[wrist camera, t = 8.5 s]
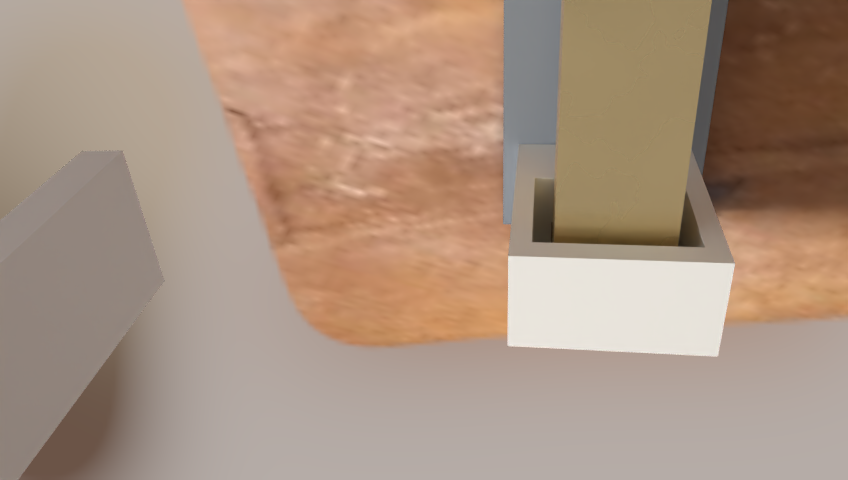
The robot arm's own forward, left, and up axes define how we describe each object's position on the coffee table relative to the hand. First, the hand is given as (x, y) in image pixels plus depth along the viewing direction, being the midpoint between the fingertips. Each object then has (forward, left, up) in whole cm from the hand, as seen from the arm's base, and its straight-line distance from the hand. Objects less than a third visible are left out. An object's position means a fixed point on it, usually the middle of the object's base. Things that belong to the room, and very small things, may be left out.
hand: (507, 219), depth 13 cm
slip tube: (+2, +3, -18) cm, 18 cm away
